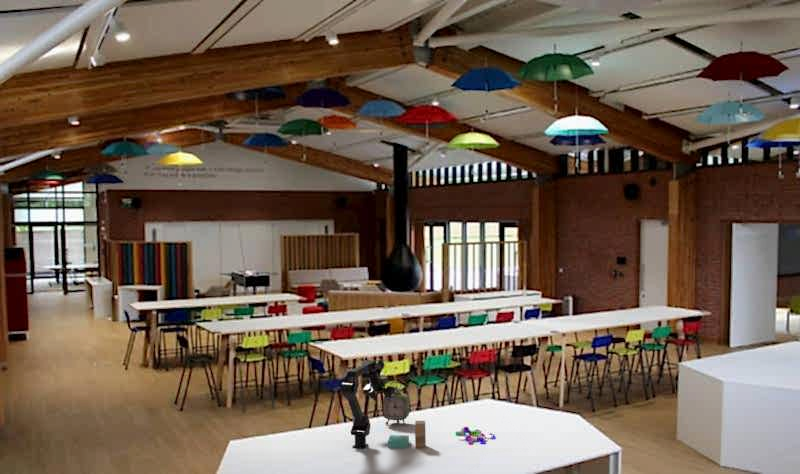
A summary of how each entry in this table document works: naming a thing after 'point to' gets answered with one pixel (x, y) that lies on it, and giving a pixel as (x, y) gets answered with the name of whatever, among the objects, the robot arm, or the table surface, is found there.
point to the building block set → (470, 438)
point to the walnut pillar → (420, 435)
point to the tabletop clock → (396, 406)
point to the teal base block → (398, 441)
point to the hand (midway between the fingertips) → (383, 402)
